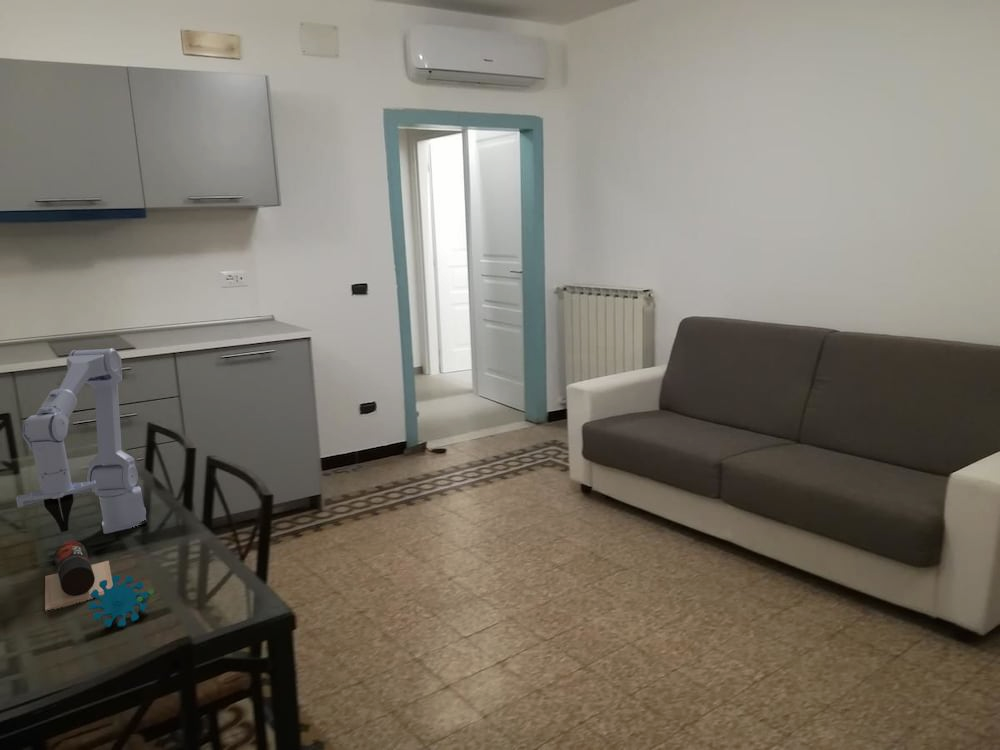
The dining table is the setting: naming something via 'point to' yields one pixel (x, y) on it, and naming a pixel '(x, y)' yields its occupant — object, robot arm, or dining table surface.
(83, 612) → the dining table surface
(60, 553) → the deodorant
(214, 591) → the dining table surface
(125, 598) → the blue virus model
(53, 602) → the pink flat board
